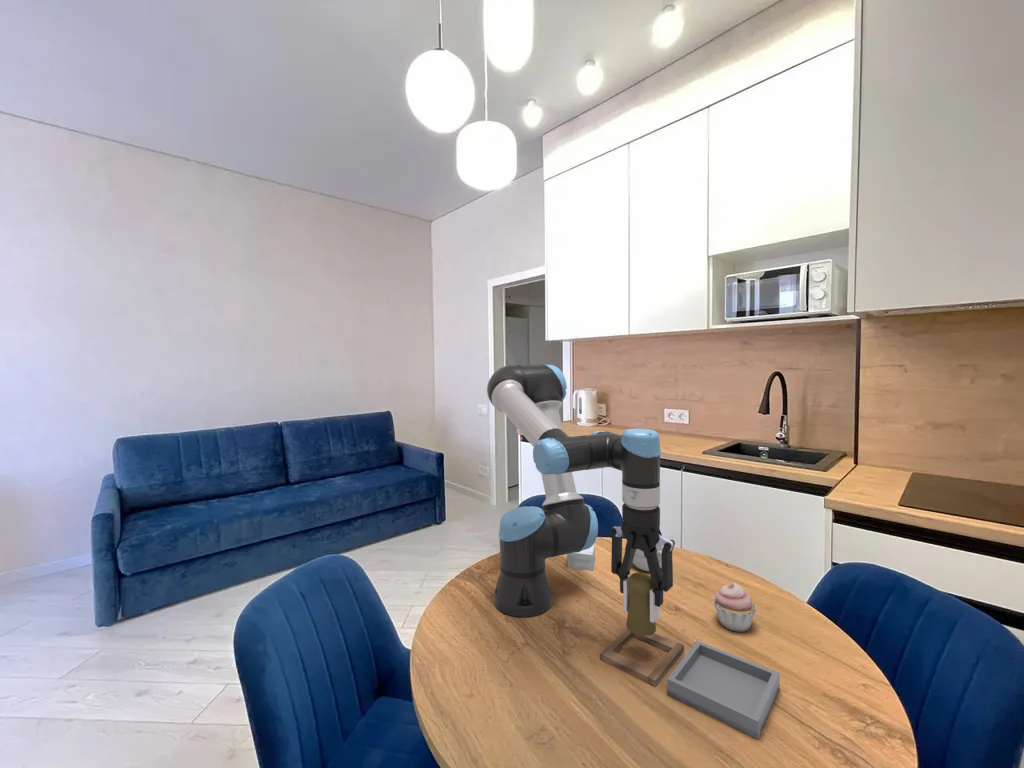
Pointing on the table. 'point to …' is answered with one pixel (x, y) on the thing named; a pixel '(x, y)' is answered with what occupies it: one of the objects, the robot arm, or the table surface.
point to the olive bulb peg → (640, 605)
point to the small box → (582, 559)
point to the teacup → (641, 561)
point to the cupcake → (734, 607)
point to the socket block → (639, 669)
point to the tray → (725, 687)
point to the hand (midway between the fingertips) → (641, 613)
